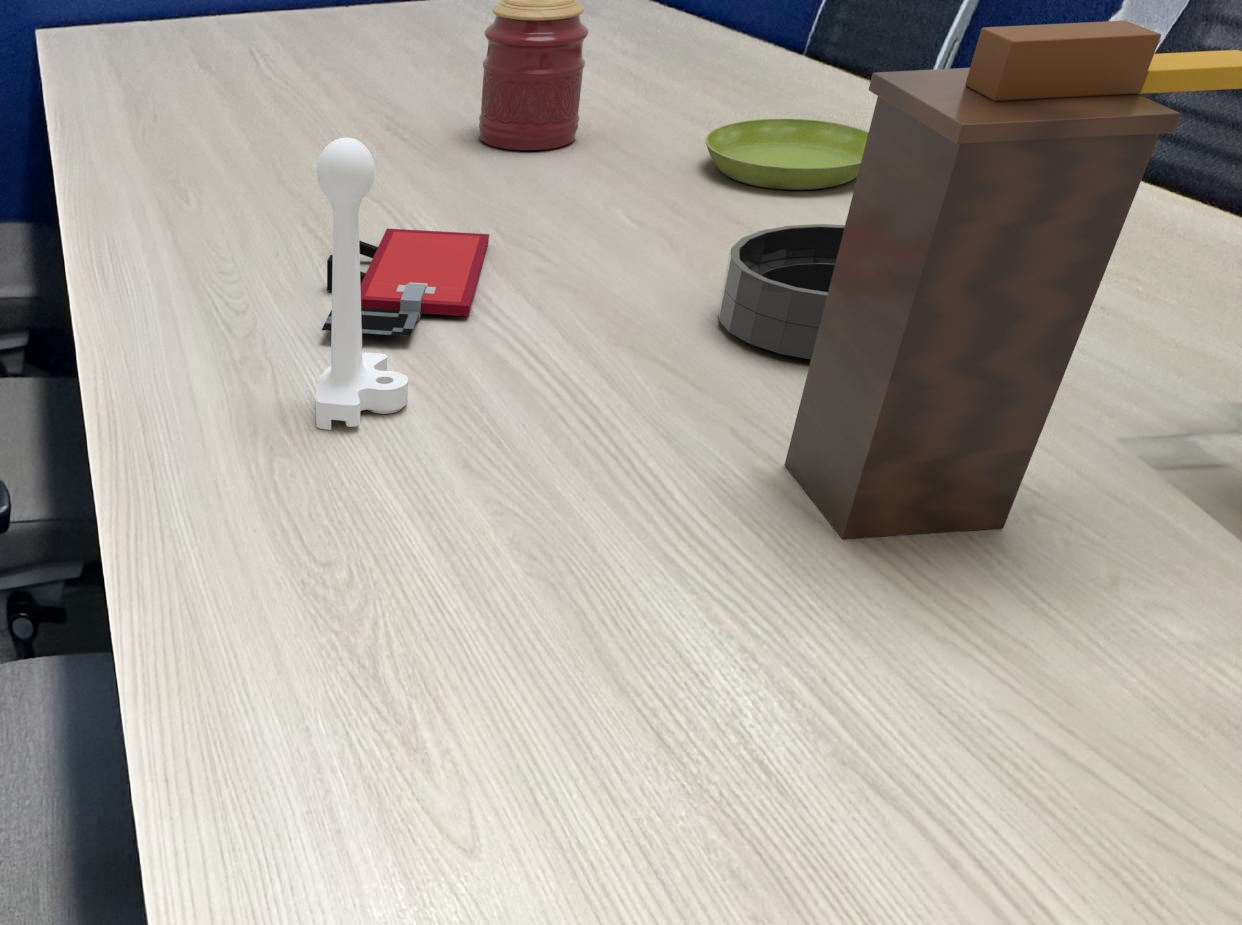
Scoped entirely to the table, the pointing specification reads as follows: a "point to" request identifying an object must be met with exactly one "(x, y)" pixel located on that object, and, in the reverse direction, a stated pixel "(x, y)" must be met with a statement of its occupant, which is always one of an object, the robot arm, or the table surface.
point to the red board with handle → (416, 278)
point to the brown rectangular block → (1091, 63)
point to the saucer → (788, 152)
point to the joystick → (351, 299)
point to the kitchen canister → (532, 74)
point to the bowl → (780, 286)
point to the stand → (960, 297)
